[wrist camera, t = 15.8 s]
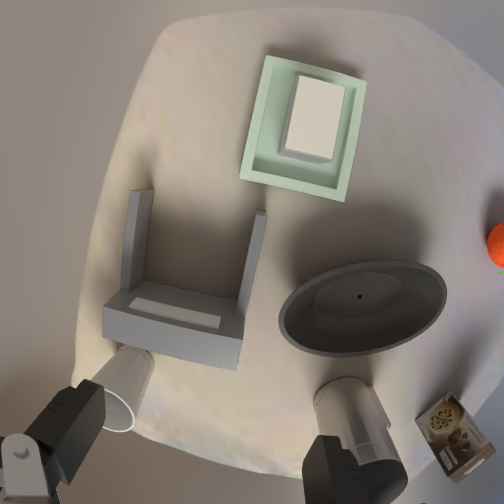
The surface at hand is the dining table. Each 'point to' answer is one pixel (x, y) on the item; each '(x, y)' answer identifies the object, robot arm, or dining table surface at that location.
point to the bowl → (362, 308)
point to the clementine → (496, 245)
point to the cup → (124, 386)
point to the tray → (271, 125)
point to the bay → (176, 302)
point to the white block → (312, 120)
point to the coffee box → (454, 438)
